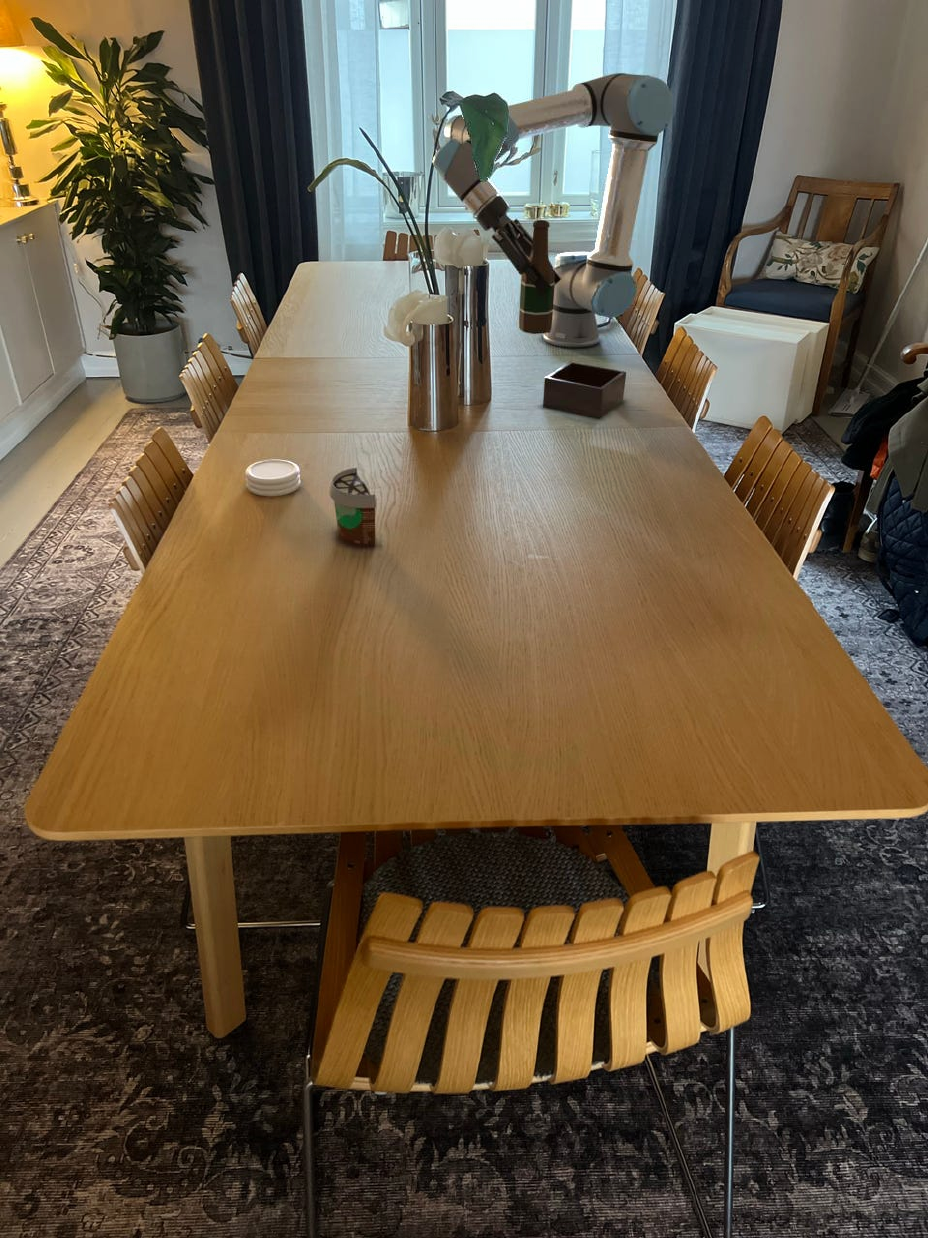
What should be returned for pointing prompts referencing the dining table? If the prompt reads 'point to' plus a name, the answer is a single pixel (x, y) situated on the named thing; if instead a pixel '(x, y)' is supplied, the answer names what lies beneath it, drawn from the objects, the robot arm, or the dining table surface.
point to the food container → (353, 509)
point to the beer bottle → (532, 303)
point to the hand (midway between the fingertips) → (552, 287)
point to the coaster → (272, 478)
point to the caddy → (584, 390)
